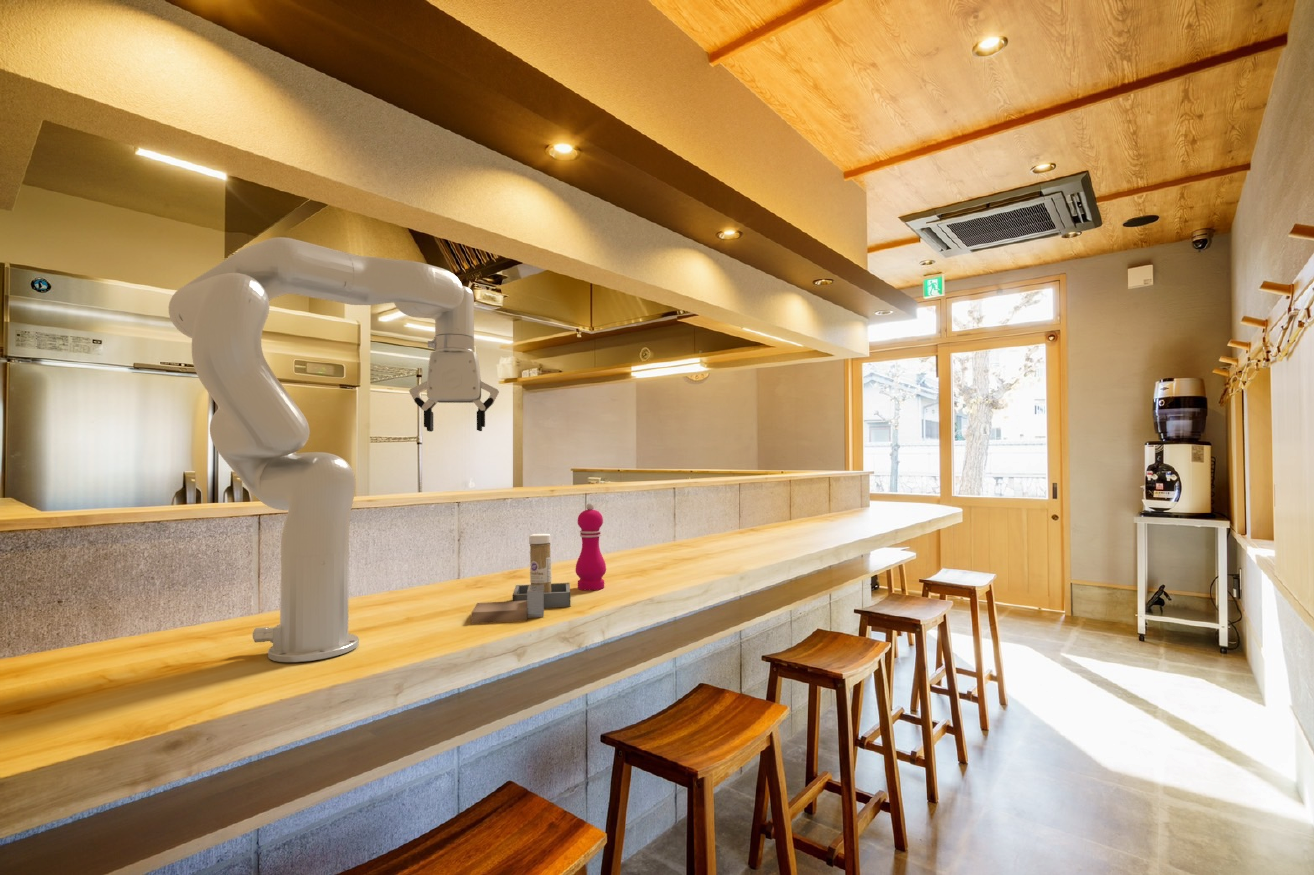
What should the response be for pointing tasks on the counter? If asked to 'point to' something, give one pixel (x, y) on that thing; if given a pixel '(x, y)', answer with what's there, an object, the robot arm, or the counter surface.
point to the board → (499, 612)
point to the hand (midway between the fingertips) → (454, 430)
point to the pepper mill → (590, 551)
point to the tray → (547, 595)
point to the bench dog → (535, 601)
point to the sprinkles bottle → (540, 560)
